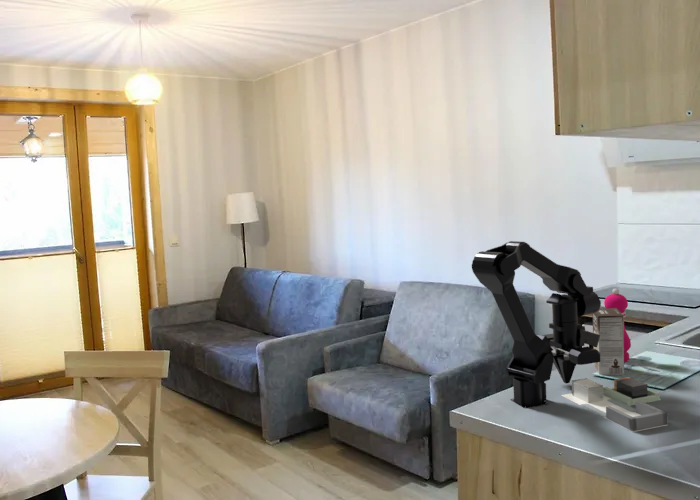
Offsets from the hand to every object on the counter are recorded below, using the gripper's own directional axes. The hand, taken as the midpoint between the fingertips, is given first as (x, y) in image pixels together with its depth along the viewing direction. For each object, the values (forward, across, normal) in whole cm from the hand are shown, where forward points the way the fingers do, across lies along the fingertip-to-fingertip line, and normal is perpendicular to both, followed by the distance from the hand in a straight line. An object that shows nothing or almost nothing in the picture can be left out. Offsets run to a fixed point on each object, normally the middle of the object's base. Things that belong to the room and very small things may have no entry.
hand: (566, 383), depth 153 cm
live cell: (+1, -11, -9) cm, 15 cm away
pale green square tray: (+2, -11, -9) cm, 15 cm away
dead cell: (+1, -8, 0) cm, 8 cm away
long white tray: (+2, -16, 0) cm, 16 cm away
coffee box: (+2, +8, -18) cm, 20 cm away
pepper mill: (+2, +16, -27) cm, 31 cm away
